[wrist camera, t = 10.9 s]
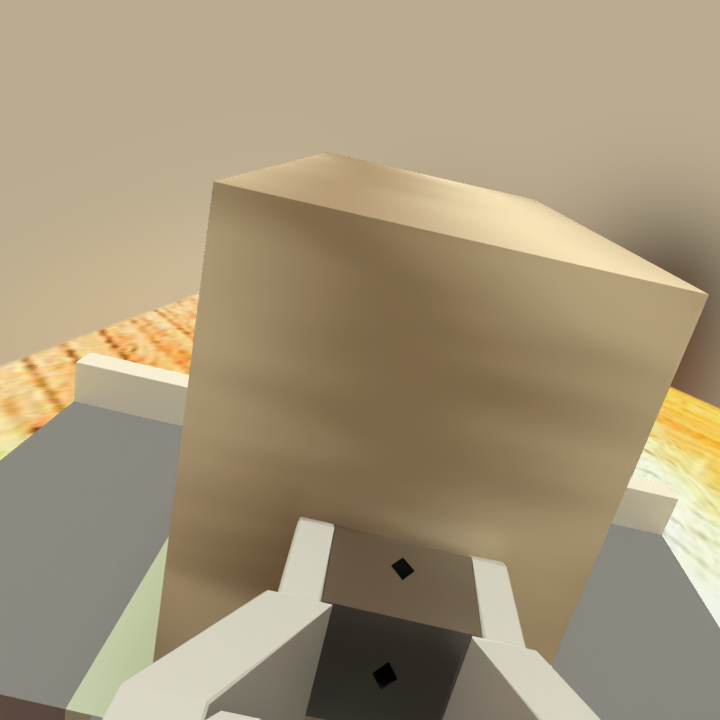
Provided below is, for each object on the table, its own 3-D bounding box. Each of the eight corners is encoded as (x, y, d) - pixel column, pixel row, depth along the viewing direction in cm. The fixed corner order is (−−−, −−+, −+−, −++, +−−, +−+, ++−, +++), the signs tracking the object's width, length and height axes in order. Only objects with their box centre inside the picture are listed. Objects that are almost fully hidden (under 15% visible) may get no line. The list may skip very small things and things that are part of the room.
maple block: (443, 495, 21) (534, 199, 18) (476, 840, 11) (709, 293, 7) (270, 456, 21) (327, 152, 18) (139, 765, 11) (213, 180, 7)
